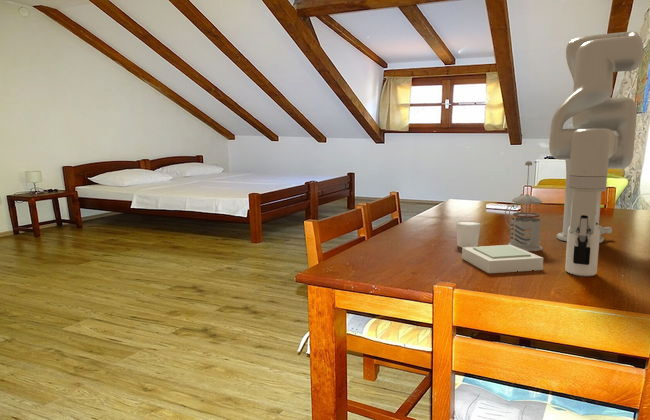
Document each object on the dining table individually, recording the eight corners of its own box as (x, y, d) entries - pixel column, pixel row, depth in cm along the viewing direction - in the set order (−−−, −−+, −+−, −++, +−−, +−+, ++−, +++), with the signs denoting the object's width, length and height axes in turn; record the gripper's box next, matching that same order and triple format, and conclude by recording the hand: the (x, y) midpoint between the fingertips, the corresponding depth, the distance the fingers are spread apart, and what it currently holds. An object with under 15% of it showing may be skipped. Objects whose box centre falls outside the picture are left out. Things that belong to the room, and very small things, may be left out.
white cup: (481, 249, 131) (482, 225, 130) (456, 248, 132) (457, 224, 131) (478, 243, 137) (478, 221, 136) (454, 243, 139) (455, 220, 138)
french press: (527, 252, 126) (532, 162, 122) (494, 244, 136) (497, 160, 132) (550, 248, 130) (555, 161, 126) (516, 240, 140) (520, 159, 137)
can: (559, 269, 109) (562, 220, 108) (584, 268, 110) (588, 219, 108) (576, 277, 103) (579, 225, 101) (603, 276, 104) (607, 224, 102)
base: (510, 255, 123) (511, 243, 122) (542, 269, 109) (543, 256, 109) (461, 258, 121) (462, 245, 120) (488, 273, 107) (489, 259, 107)
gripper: (570, 180, 112) (565, 250, 115) (566, 186, 98) (560, 267, 100) (606, 181, 109) (600, 254, 111) (607, 187, 94) (600, 271, 97)
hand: (581, 259), depth 106 cm, fingers closed on can, 6 cm apart
